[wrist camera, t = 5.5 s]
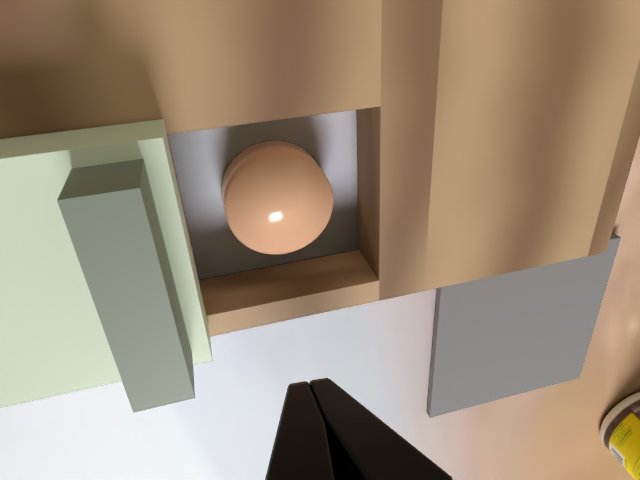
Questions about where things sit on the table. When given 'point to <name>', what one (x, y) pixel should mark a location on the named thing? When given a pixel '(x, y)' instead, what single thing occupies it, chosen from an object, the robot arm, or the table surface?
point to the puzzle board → (366, 121)
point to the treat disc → (276, 197)
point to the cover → (97, 268)
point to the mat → (515, 331)
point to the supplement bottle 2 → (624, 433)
